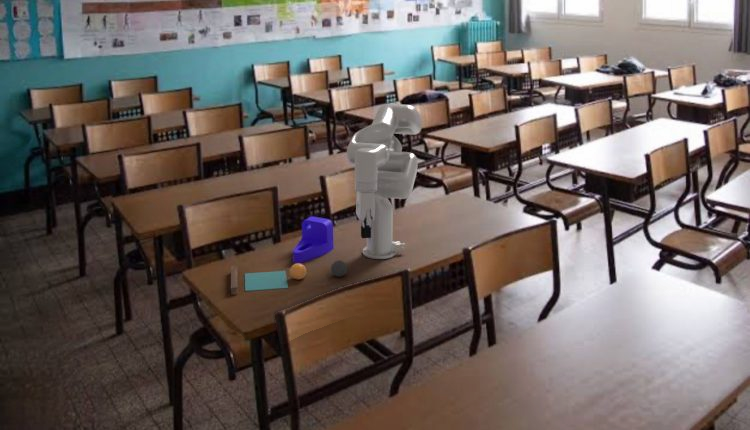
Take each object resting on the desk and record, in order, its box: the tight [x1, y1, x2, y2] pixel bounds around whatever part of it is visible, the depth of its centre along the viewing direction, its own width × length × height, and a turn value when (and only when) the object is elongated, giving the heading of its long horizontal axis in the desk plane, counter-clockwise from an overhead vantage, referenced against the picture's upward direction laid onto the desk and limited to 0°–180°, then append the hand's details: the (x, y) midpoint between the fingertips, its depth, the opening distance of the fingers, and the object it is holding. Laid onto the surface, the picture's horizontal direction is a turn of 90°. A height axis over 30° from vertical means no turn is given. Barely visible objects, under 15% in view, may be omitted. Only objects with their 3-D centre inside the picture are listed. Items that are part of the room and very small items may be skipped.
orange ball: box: [289, 263, 307, 280], centre depth 246 cm, size 6×6×6 cm
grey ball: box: [330, 260, 348, 278], centre depth 249 cm, size 6×6×6 cm
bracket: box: [292, 215, 334, 264], centre depth 266 cm, size 18×11×12 cm, turn 153°
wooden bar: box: [230, 265, 239, 296], centre depth 243 cm, size 2×18×2 cm, turn 10°
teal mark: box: [244, 270, 289, 292], centre depth 245 cm, size 14×14×1 cm
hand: (365, 237), depth 246 cm, fingers closed
